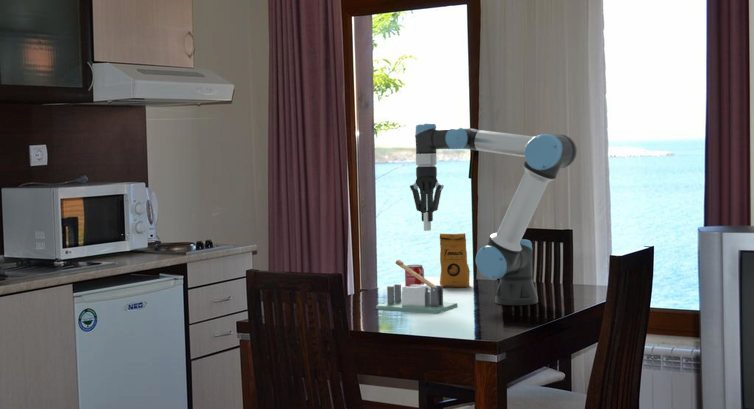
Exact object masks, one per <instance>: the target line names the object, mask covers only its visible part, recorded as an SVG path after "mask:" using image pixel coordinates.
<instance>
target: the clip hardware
mask: <svg viewBox="0 0 754 409" xmlns="http://www.w3.org/2000/svg"><path fill="white" fill-rule="evenodd" d="M435 286H436V287H431V307H439V305H443V302H444V288H443V287H444V286H441V285H437V284H436V285H435ZM386 293H387V295H386V296H387V298H386V299H387V301H386V303H387V302H388V304H392V305H393V304H394V300H395V302H401V300H402V284H401V283H400V284H398V283H397V284H394V285H393V286H392V285H388V286H386Z"/></svg>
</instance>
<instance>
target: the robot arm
mask: <svg viewBox="0 0 754 409" xmlns="http://www.w3.org/2000/svg"><path fill="white" fill-rule="evenodd" d="M414 137H415V165H416V168H415V176H416V180H415V182H414V183H413V184H410V185H409V188H410V191H412V196H413V200H414V204H415V205H414V206H415V210H416V211H417V212H420V213H421V222H423V232H424V231H425V232H427V231H429V232H430V231H431V230H432V222H433V221H434V220H433V219H434V214H433V213H434V212H436V211H438V210H439V204H440V200H441V194H442V190H443V189H444V188H445V187H444V184H441V183H439V180H438V179H437V176H438V175H437V174H438V173H437V172H438V170H437V150H469V151H470V150H471V151H480V152H485V153H494V154H501V155H508V156H516V157H523V158H525V159H524V163H523V165H522V166H523V169H524V174H522V175H523V176H522V177H521V180H520V182H519V183H518V186H517V189H516V190H515V193H514V195H513V197H512V200H511V202H510V203H509V205H508V208H507V210H506V212H505V214H504V217H503V219H502V220H501V223H500V225H499V227H498V230H497V232H494V233H492V234H490V235H489V238H488V241H487V243H486V245H484V246H482V247H481V248H479V250H478V251H477V252H476V256H475V265H476V267H477V270H478V271H479V273H480V274H481V275H482V276H483V277H485V278H487V279H493V280H498V279H499V284H498V287H497V290H496V293H495V297H494V298H495V304H498V305H502V306H531V305H536V304H537V303H538V302H539V300H538V299H539V297H538V294H537V290H536V287H535V285H534V281H533V250H534V249H533V244H532V241H531V240H529V239H525V238H524V239H523V236H524V235H525V233H526V230H527V228H528V226H529V224H530V222H531V220H532V218H533V215H534V213H535V212H536V209H537V207H538V206H539V203H540V201H541V199H542V196H543V194H544V193H545V192H546V188H547V186H548V184H549V182H552V181H555V180H556V178H557V176H558V174H559V171H560V169H565V168H567V167H569V166H571V165H572V164H573V162H575V160H576V158H577V155H578V148H577V146H576V143H575V141H574V140H573V139H572V138H571V137H570V136H567V135H565V134H556V133H555V134H554V133H553V134H551V133H541V134H538V135H535V136H532V135H524V134H515V133H507V132H501V131H500V132H498V131H492V130H482V129H476V128H462V127H447V128H437V125H436V124H435V123H433V122H431V123H418V124H416V126H415V135H414Z"/></svg>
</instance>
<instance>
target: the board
mask: <svg viewBox="0 0 754 409" xmlns="http://www.w3.org/2000/svg"><path fill="white" fill-rule="evenodd" d="M454 308H458V303H457V302H444V301H443V305H439V307H431V305H430V306H427V307H413V306H402V299H401V302H395V299H394V304H393V305H392V304H388V302H387V301H386V302H384V303H382V304H378V305H376V306H375V309H376V310H381V311H382V310H383V311H398V312H412V313H413V312H414V313H427V314H440V313H443V312H445V311H448V310H452V309H454Z"/></svg>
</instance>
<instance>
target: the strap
mask: <svg viewBox="0 0 754 409" xmlns="http://www.w3.org/2000/svg"><path fill="white" fill-rule="evenodd" d="M395 264H396V265H397V266H398V267H400V268H402V270H404V271H405V270H406V271H407V272H409V273H410V274H412V275H413V276H415V277H416V278H417V279H419V280H420V281H422V282H423V283H424V285H428V286H429V287H436V285H435V284H434V283H432V282H431V281H429V280H428V279H426V278H425V277H424V278H423V277H422V276H420V275H419V274H417V273H416V272H415V271H413V270H412V269H410V268H409V267H407V265H406V264H404V261H402V260H401V259H398V260H396V261H395Z"/></svg>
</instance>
